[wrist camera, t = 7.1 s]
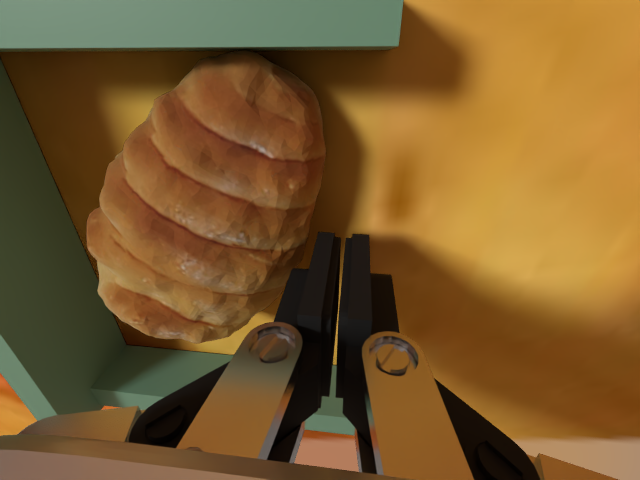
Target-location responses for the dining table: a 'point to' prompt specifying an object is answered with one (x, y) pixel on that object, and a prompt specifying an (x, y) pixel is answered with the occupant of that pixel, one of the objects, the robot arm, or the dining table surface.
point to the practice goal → (56, 225)
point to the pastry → (210, 200)
